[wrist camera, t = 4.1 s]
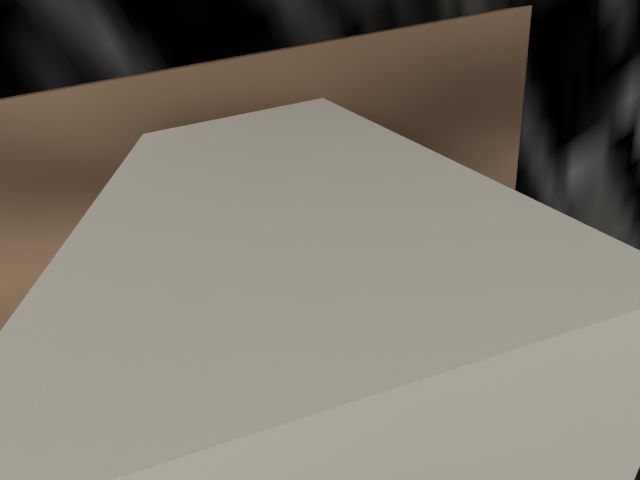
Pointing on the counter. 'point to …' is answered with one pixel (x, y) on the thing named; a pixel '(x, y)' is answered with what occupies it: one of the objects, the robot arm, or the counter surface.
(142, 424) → the carton
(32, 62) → the counter surface
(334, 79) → the shelf plank
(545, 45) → the counter surface
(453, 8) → the counter surface
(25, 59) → the counter surface
